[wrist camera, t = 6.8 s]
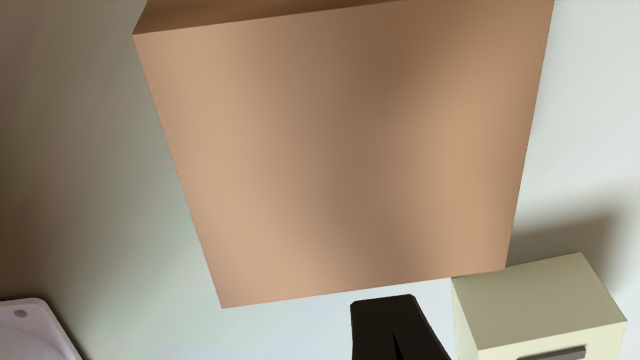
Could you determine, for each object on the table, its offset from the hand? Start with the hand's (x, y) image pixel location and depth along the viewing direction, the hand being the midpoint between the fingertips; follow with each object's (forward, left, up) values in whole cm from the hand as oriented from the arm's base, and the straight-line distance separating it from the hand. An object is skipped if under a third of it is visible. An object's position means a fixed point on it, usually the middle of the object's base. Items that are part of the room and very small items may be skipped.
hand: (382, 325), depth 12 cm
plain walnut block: (0, +1, -9) cm, 9 cm away
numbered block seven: (+8, -12, -9) cm, 17 cm away
